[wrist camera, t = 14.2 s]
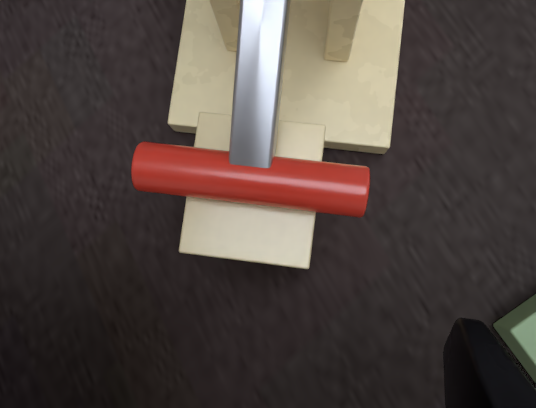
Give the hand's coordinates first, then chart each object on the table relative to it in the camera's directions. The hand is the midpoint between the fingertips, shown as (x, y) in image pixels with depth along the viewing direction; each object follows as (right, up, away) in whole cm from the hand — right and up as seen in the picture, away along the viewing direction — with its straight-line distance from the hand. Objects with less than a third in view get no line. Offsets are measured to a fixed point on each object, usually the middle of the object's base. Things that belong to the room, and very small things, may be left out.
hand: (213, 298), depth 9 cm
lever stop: (+1, +1, +11) cm, 11 cm away
